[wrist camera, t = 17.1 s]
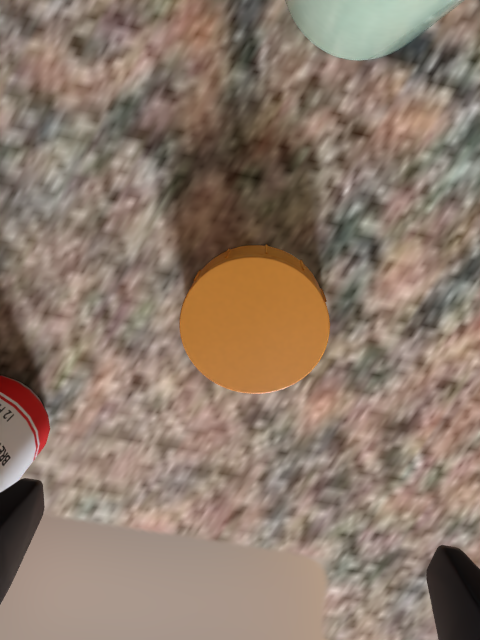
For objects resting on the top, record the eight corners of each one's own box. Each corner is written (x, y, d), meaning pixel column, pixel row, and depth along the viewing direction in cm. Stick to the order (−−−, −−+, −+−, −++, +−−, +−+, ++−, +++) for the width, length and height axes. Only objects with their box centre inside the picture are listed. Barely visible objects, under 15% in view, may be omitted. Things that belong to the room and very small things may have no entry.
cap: (286, 388, 23) (288, 413, 20) (170, 340, 22) (159, 362, 20) (348, 279, 20) (358, 295, 18) (218, 221, 19) (211, 230, 17)
